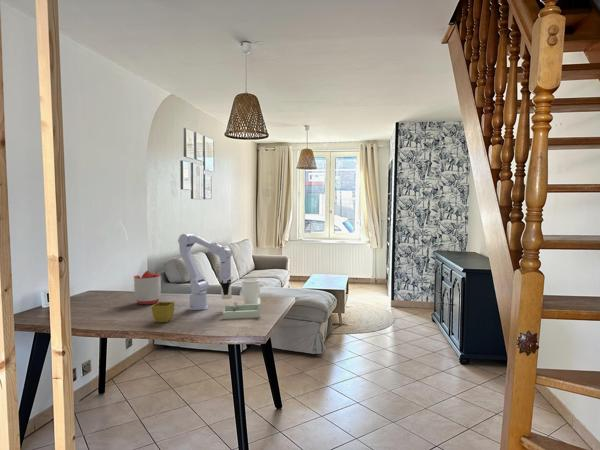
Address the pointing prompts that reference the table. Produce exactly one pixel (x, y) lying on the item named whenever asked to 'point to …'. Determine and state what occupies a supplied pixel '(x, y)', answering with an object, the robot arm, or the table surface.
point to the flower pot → (163, 311)
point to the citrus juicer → (147, 288)
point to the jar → (250, 290)
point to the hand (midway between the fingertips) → (226, 293)
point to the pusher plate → (235, 307)
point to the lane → (243, 311)
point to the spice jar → (228, 292)
